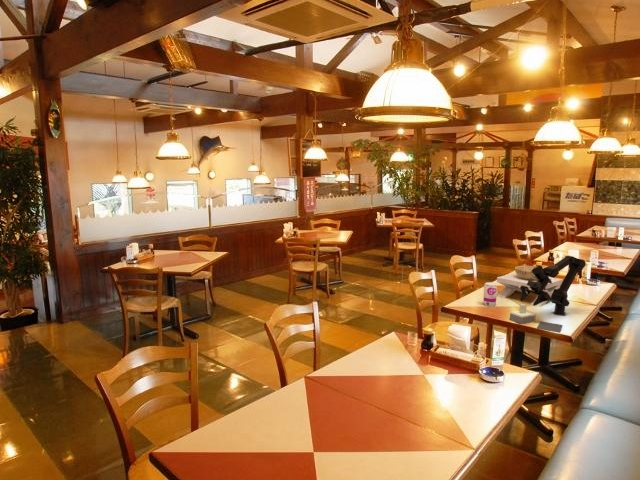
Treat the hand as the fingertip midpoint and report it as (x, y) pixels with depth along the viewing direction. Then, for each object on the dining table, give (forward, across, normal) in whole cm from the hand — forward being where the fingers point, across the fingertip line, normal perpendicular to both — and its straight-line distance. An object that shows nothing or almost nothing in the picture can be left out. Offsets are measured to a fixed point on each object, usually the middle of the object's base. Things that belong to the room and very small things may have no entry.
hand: (527, 303), depth 266 cm
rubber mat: (+6, +15, +9) cm, 18 cm away
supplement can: (+5, -33, +10) cm, 35 cm away
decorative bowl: (-23, -35, +38) cm, 57 cm away
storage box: (+10, 0, +5) cm, 11 cm away
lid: (+7, 0, +2) cm, 7 cm away
